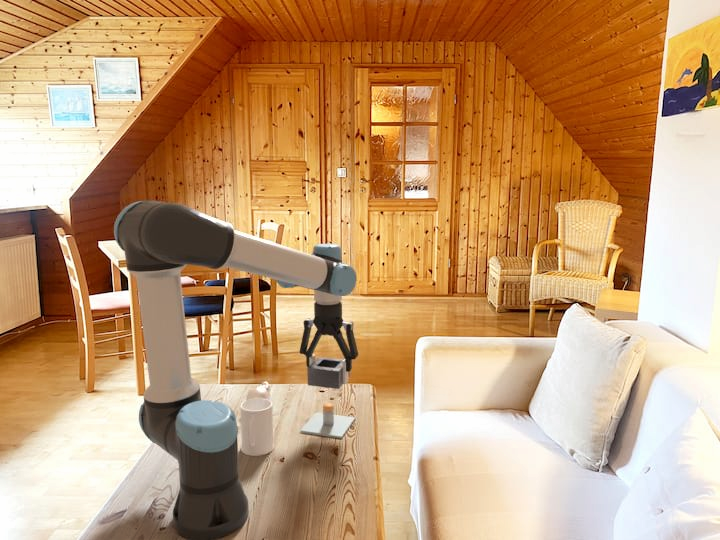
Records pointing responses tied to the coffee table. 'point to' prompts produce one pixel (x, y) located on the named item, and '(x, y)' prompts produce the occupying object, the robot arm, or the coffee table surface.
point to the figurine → (259, 391)
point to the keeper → (328, 423)
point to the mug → (257, 427)
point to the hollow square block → (326, 373)
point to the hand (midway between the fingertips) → (329, 380)
